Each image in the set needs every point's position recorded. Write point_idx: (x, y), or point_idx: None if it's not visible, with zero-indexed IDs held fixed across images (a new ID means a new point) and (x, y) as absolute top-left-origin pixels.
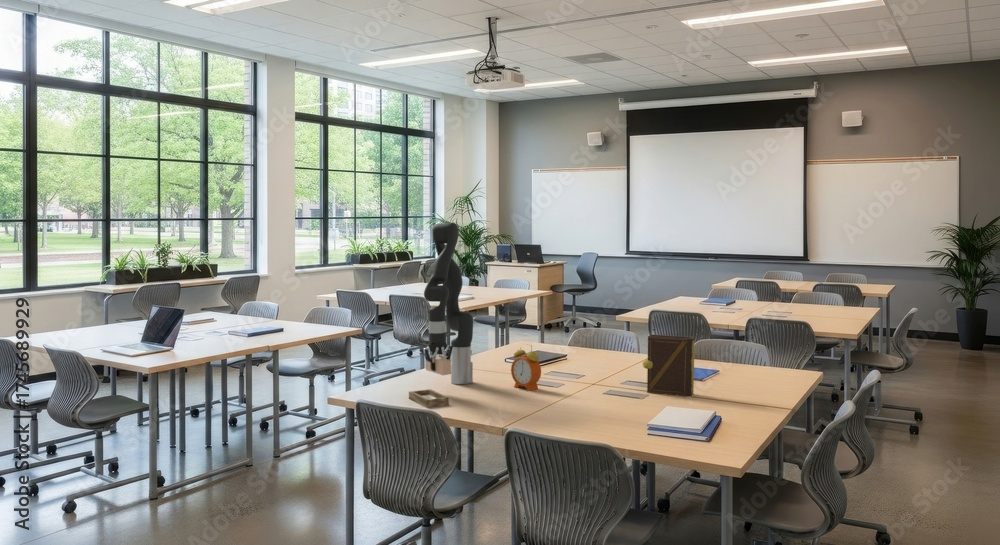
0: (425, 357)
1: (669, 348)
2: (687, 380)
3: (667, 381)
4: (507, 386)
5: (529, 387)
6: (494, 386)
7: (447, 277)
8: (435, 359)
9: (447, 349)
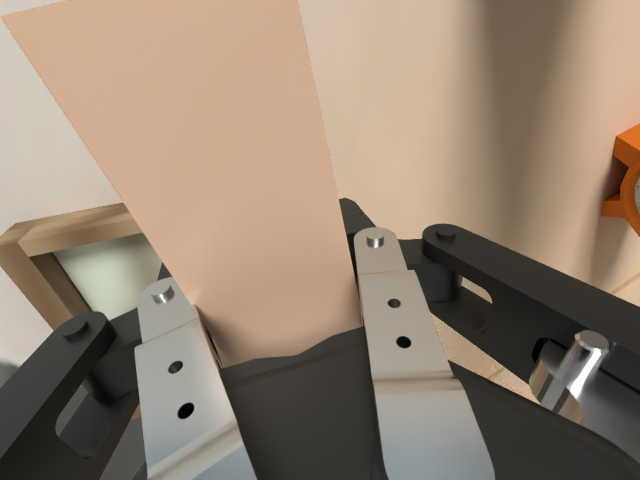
0: (13, 398)
1: None
2: None
3: None
4: (619, 102)
5: (615, 216)
6: (586, 73)
7: None
8: (229, 362)
9: (533, 387)
